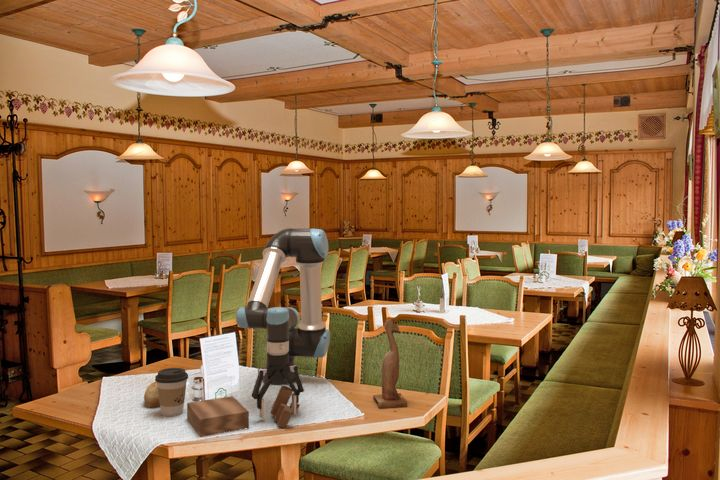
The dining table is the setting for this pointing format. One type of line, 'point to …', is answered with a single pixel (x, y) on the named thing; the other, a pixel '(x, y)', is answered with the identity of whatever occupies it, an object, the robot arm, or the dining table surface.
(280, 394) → the wooden block set
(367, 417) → the dining table surface
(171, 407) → the coffee cup
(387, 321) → the bird sculpture
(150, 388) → the bread roll
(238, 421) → the walnut base block
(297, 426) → the dining table surface
